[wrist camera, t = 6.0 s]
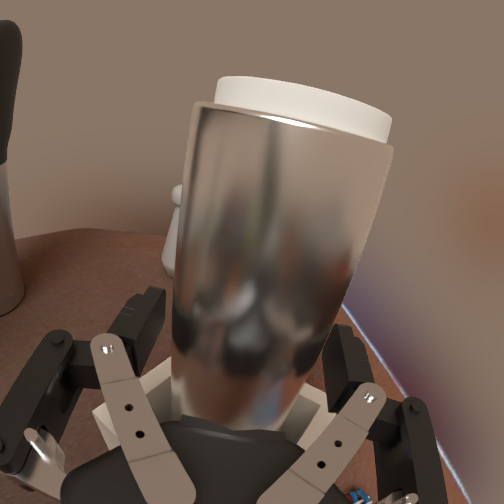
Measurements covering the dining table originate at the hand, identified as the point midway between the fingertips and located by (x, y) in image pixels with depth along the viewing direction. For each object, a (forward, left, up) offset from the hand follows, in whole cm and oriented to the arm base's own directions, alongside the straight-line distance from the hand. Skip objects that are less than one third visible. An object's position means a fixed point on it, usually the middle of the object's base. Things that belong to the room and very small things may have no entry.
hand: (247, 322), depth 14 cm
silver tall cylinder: (0, -1, -15) cm, 15 cm away
